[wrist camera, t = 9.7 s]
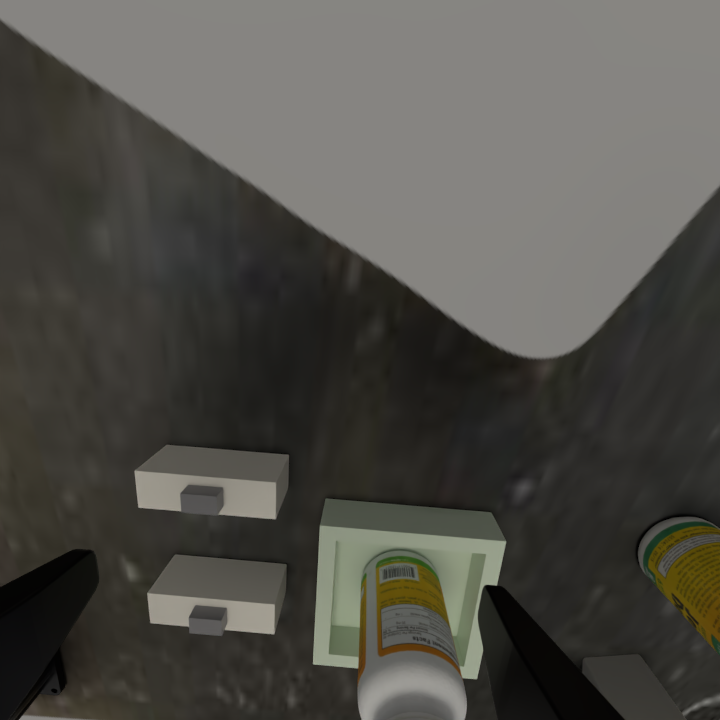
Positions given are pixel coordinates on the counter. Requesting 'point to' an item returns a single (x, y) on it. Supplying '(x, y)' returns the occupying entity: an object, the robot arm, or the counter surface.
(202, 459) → the pair of white blocks
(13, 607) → the robot arm
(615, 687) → the lighter
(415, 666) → the supplement bottle
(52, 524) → the counter surface
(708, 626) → the supplement bottle
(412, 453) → the counter surface
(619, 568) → the counter surface
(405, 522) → the tray
